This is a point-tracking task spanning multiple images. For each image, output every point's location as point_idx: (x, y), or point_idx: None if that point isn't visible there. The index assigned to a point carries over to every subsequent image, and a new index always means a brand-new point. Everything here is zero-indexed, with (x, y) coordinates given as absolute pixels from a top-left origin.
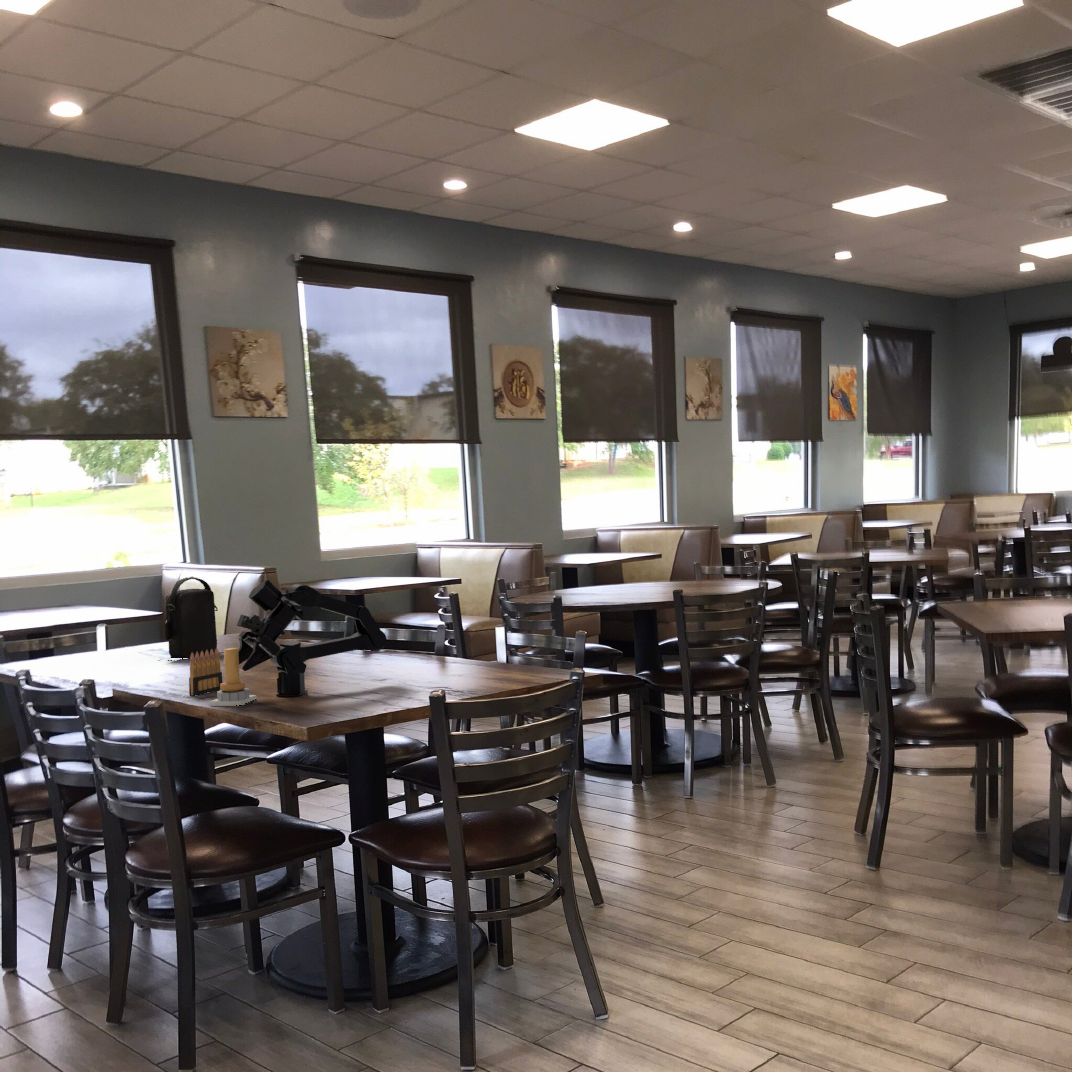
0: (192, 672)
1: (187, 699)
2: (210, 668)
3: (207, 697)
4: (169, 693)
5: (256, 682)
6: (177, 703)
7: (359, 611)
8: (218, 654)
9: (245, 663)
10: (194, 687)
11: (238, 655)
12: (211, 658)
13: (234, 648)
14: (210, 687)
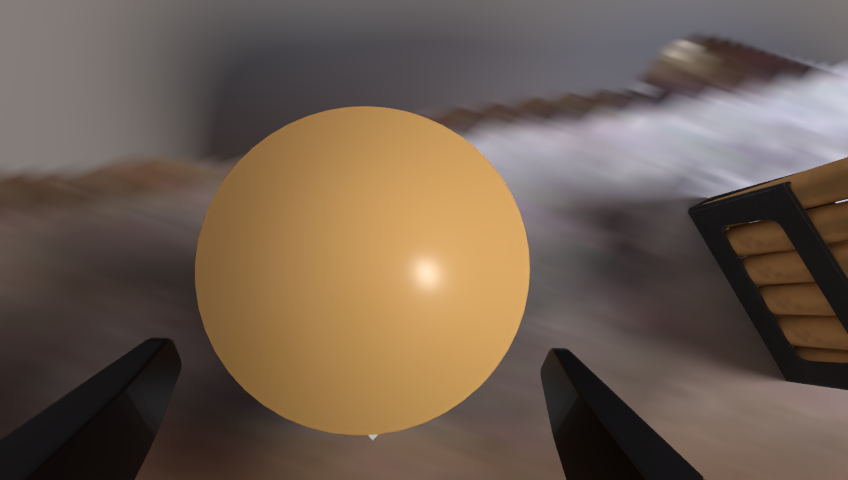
0: (832, 167)
1: (627, 163)
2: None
3: (618, 247)
4: (821, 156)
5: None
6: (559, 100)
7: None
8: None
9: (88, 389)
10: (729, 202)
11: (626, 471)
12: None
13: (384, 349)
14: (769, 304)
